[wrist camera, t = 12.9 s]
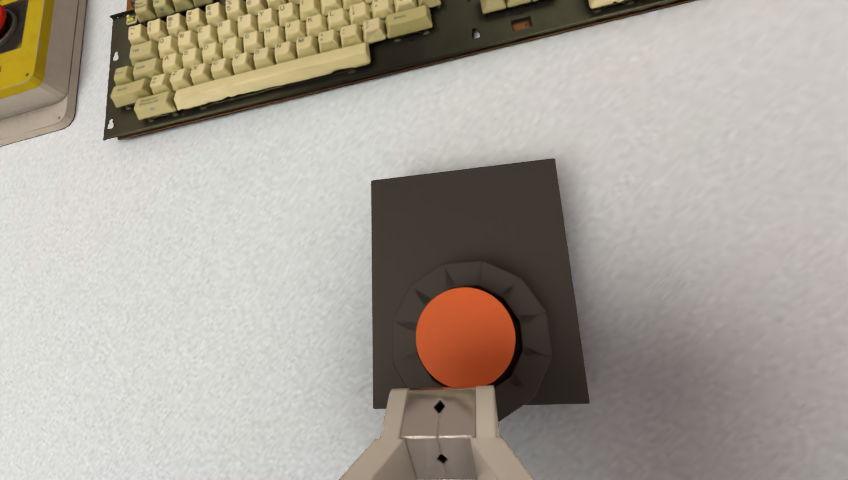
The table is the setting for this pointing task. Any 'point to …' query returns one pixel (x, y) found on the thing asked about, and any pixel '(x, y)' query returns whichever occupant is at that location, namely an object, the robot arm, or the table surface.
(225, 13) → the keyboard
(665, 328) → the table surface
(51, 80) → the emergency button
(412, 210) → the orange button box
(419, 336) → the push button
